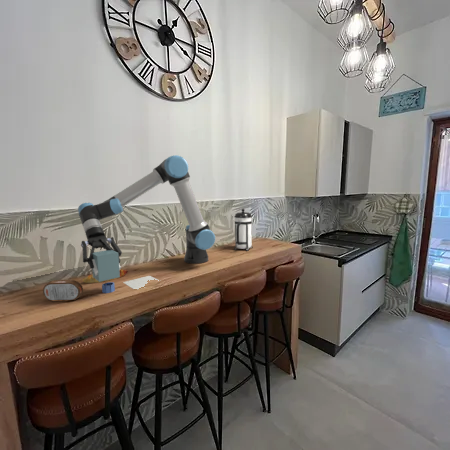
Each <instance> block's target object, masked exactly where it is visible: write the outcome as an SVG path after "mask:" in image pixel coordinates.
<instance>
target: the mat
mask: <svg viewBox="0 0 450 450" xmlns="http://www.w3.org/2000/svg"><path fill="white" fill-rule="evenodd" d="M154 279H155V280H158V281H159V279H158V278H156V277H153V276H151V275H147V276H142V277H138V278H135V279H131V280H130V279H129V280H126V281H123V282H122V283H123V284H125V285H126V286H128V287H129V288H131V289H133V290H134V289H137V290H140V289H139V288H141V287H144V286H145V284H147V283H148V282H147V281H148V280H149V281H150V280H154ZM144 288H145V287H144ZM141 289H142V288H141Z"/></svg>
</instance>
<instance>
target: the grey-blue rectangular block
mask: <svg viewBox="0 0 450 450" xmlns="http://www.w3.org/2000/svg"><path fill="white" fill-rule="evenodd" d="M92 255H93V257H92V260H93V259H94V260H95V263H96V266H97V269H98V275H97V276H95V273H94V270H93V269H91V270H92V274H93V278H95V279H96V280H97V281H99V283H102V282H101V281H105V280H110V279H114V278H117V279H119V278H118V277H120V271H119V264H120V263H119V258H120V256H119V257H118V252H116V251H113V250H106V249H105V250H100V251H94V253H92ZM120 278H121V277H120ZM114 280H115V279H114Z"/></svg>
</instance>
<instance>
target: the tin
mask: <svg viewBox="0 0 450 450" xmlns="http://www.w3.org/2000/svg"><path fill="white" fill-rule="evenodd" d="M42 289H43V290H42V294H43V296H44V298H45V299H46V300H48V301H50V300H74V301H76V300H77V299H78V298H81V296H82V295H83V292H84V287H83V286H82V284H81V283H80V282H79V281H77V280H74V279H67V280H66V279H61V280H60V279H59V280H58V279H56V280H51V281H49V282H48V283H46V284H45V285H44V286H43V288H42Z"/></svg>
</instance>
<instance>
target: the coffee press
mask: <svg viewBox="0 0 450 450" xmlns="http://www.w3.org/2000/svg"><path fill="white" fill-rule="evenodd" d="M252 217H253V216H252V214H251V212H246V211H245V208H242V209H241V211H239V212H236V213H235V214H234V239H235V240H234V242H235V245H234V246H235V247H234V248H233V250H235V251H237V250H238V249H243V250H245V251H246V252H249V251H250V249H253V244H252V238H253V237H252V223H253V222H252Z"/></svg>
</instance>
